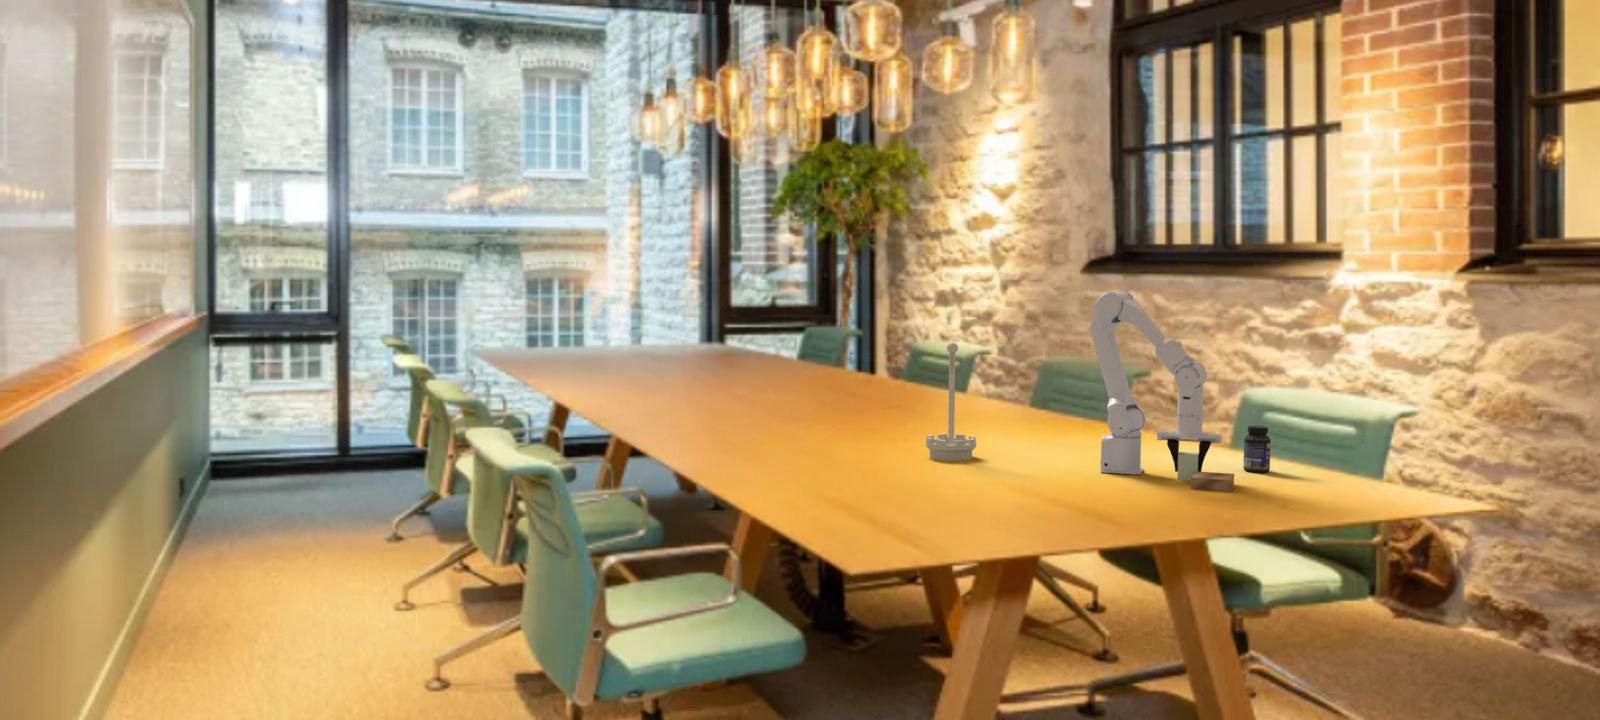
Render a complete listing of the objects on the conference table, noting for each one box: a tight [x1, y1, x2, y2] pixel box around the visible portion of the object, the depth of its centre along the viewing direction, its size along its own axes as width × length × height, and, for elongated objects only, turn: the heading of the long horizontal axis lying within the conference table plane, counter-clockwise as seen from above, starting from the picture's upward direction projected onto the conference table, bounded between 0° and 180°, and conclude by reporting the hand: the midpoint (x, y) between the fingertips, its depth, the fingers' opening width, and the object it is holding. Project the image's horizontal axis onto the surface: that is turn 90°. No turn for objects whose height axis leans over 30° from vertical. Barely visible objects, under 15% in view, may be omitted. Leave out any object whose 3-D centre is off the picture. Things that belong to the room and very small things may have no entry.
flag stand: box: [925, 342, 977, 462], centre depth 337 cm, size 13×13×30 cm
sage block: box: [1176, 451, 1199, 481], centre depth 308 cm, size 4×4×6 cm
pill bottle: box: [1243, 424, 1271, 474], centre depth 319 cm, size 6×6×11 cm
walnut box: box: [1190, 471, 1235, 493], centre depth 298 cm, size 9×9×3 cm
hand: (1188, 471), depth 308 cm, fingers closed on sage block, 4 cm apart
